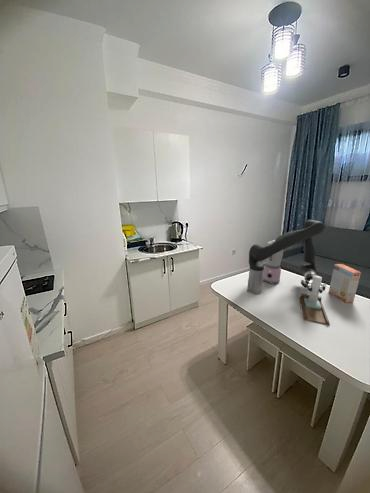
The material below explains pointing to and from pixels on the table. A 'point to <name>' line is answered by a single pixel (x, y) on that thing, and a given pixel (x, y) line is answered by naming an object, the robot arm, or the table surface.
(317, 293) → the keeper
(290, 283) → the table surface
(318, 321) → the rail board
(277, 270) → the blender
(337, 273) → the cracker box
